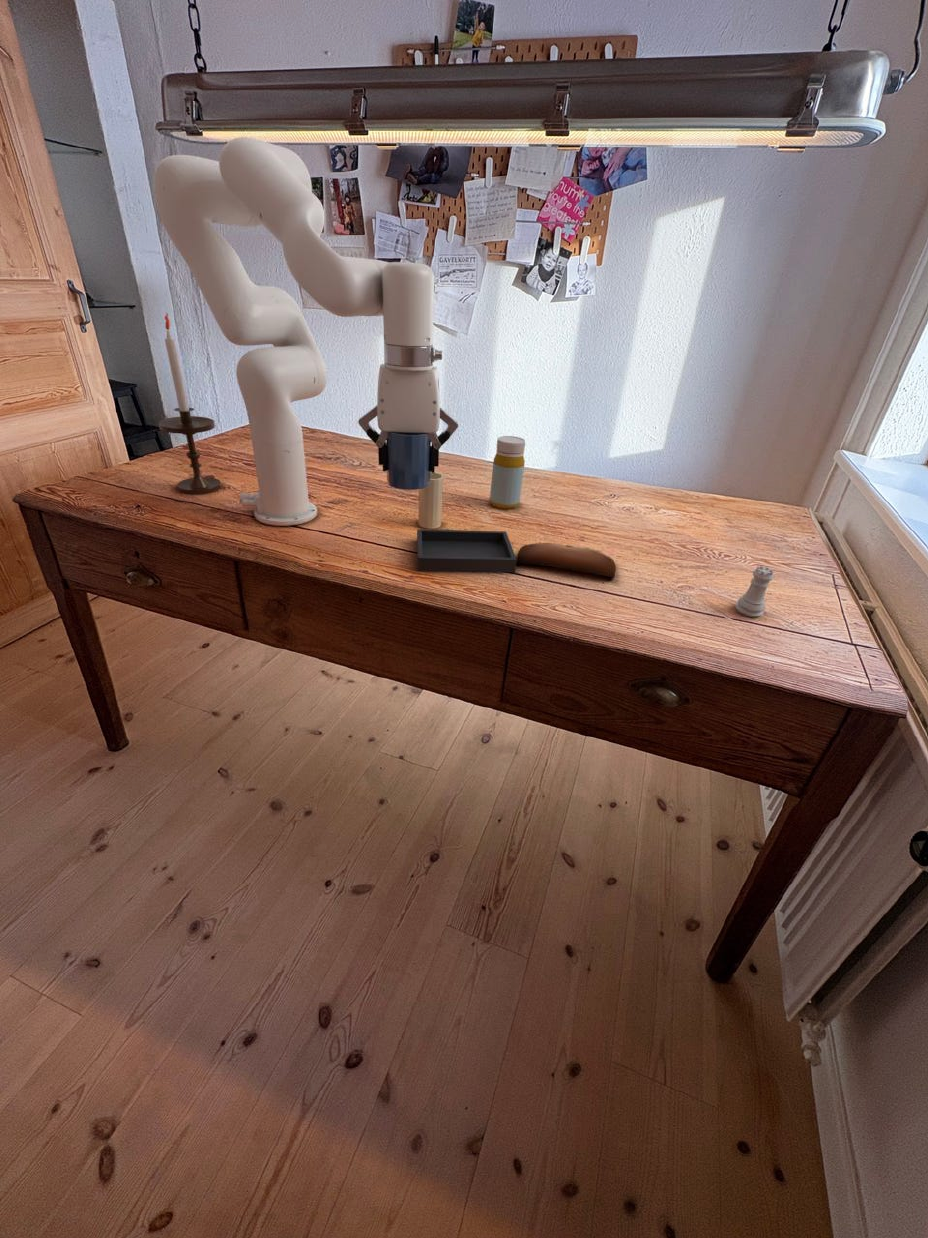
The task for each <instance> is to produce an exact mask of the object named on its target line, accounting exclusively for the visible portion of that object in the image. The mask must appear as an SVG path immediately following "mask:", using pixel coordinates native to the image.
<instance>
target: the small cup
mask: <svg viewBox="0 0 928 1238" xmlns="http://www.w3.org/2000/svg"><path fill="white" fill-rule="evenodd" d="M443 491H444V475H443V474H442V473H439V472H437V471H434V473H431V472H430V485H429V486H428V487H426V488H423V489H418V519H417V521H418V522H417V523H418V526H419V527H421V528H422V529H428V530H436V529H439V528H440V527H441V526H442V517H443V494H444V493H443Z"/></svg>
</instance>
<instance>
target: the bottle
mask: <svg viewBox="0 0 928 1238" xmlns="http://www.w3.org/2000/svg"><path fill="white" fill-rule="evenodd" d="M496 440H497V441H496V453H495V455H494V458H493V461H492V471H491V483H490V493H489V502H490V505H492V506H493V507H494V508H497V509H502V510H513V509H516V508H517V507H518V506H519V505H520V504H521V503H520V502H521V496H522V489H523V479H524V473H525V472H524V471H525V456H524V455H525V448H526V447H525V446H526V439H524V438H523V437H520V436H513V435H502V436H498V437H497V439H496Z"/></svg>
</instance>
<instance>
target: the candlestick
mask: <svg viewBox="0 0 928 1238" xmlns="http://www.w3.org/2000/svg"><path fill="white" fill-rule="evenodd" d="M164 320H165V329H166V338H164V342H165V347H166V348H165V349H166V352H167V358H168V362H169V367H170V371H171V377H172V382H173V387H174V390H175V395H176V399H177V400H176V401H177V405H178V407H176V408H174V409H173V411H175V412H179V416H172V417H167V418H163V419H161V420H159V421H158V427H159V429H160V431H162V432H164V433H169V434H178V435H179V434H182V435H184V436H185V437H186V442H187V447H188V451H187V452H186V454H185V455H186V458H187V459H188V460H190V464H189V468H192V471H193V477H189V478H186V479H185V478H184V479H182V480H180V481H179V482H177V484H176V486H177V490H178V491H179V492H180V493H183V494H187V495H205V494H211V493H214V492H216V491H218V490H220V489H221V488H222V483H221V480H220V479H218V478H215V477H211V476H203V475H202V473H201V469H200V468H201V467H202V463H200V462H199V459H200V458H201V453H200V452H199V451H198V450H197V449H196V445H195V439H194V435H196V434H199V433H205V432H209V431H211V430H214V429H215V427H216V423H215V420H214V419H212V418H209V417H206V416H197V415H192V413H191V412H193V411H195V408H194V407H189V402H188V397H187V392H186V386H185V383H184V377H183V372H182V367H181V362H180V357H179V353H178V351H179V350H178V347H177V342H176V338H173V335H172V333H171V331H170V327H171V323H170V322H171V321H170V319H169V315H168V312H166V314H165V316H164Z"/></svg>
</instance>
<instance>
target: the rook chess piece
mask: <svg viewBox="0 0 928 1238" xmlns="http://www.w3.org/2000/svg"><path fill="white" fill-rule="evenodd" d="M774 572H775V571H774V569H772V568H771V569H770V567H768V566H766V567H765V568H764V566H763V565H760V566H757V567H756V569H754V570H753V571H752V575H753V578H752V579H751V580H750V584H749V587H748V588H747V590H746V592H745V594H743V595H742V596H741V597H740V598H738V599H737V603H736V604H735V609H736V611H737V612H738V613H739V614H741V615H743V616H746V617H749V618H759V617H761V616H763V615H764V610H766V604H765V595H766V591H767V588H768V587H769V586H770V581H772V580H774V579H775V576H774Z"/></svg>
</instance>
